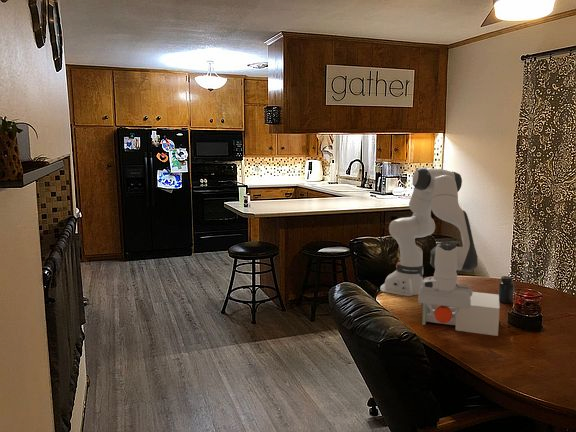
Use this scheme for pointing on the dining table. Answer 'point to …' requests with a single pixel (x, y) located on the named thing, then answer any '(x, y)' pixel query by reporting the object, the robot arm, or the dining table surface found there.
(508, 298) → the supplement bottle
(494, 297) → the block
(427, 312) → the grey drawer
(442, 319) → the clementine
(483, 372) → the dining table surface
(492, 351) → the dining table surface
